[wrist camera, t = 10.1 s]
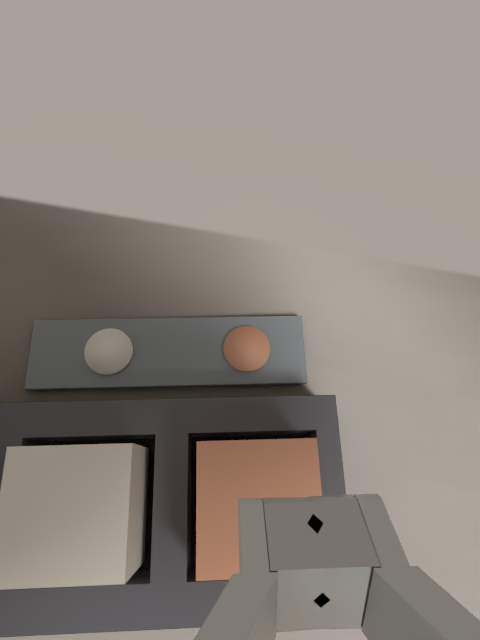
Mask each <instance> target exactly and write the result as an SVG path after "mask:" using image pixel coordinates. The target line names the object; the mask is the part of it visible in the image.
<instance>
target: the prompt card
mask: <svg viewBox="0 0 480 640" xmlns="http://www.w3.org/2000/svg"><path fill="white" fill-rule="evenodd" d="M306 383H307V376H306V364H305V352H304V340H303V328H302V316H254V317H187V318H121V319H54V320H34V323H33V330H32V337H31V344H30V351H29V358H28V365H27V372H26V379H25V386H24V389H26V390H64V389H109V388H153V387H197V386H242V385H286V384H306Z"/></svg>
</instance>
